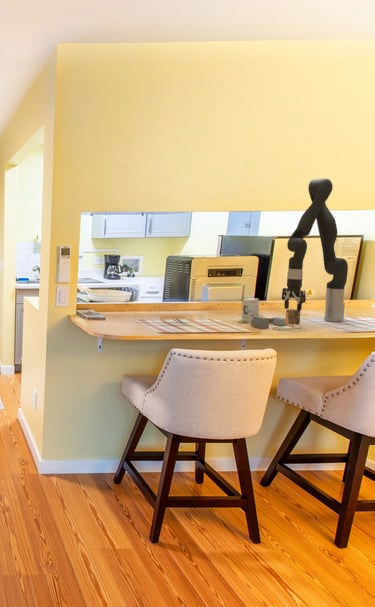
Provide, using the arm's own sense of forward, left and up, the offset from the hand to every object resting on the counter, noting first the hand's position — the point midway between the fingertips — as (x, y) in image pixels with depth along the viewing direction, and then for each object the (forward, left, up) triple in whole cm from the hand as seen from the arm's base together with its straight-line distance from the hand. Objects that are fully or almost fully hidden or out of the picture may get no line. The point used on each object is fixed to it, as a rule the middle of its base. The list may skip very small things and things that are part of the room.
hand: (292, 309), depth 294 cm
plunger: (+8, +3, -7) cm, 11 cm away
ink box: (+15, -15, -7) cm, 22 cm away
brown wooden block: (0, 0, -7) cm, 7 cm away
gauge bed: (+14, +2, -7) cm, 16 cm away
